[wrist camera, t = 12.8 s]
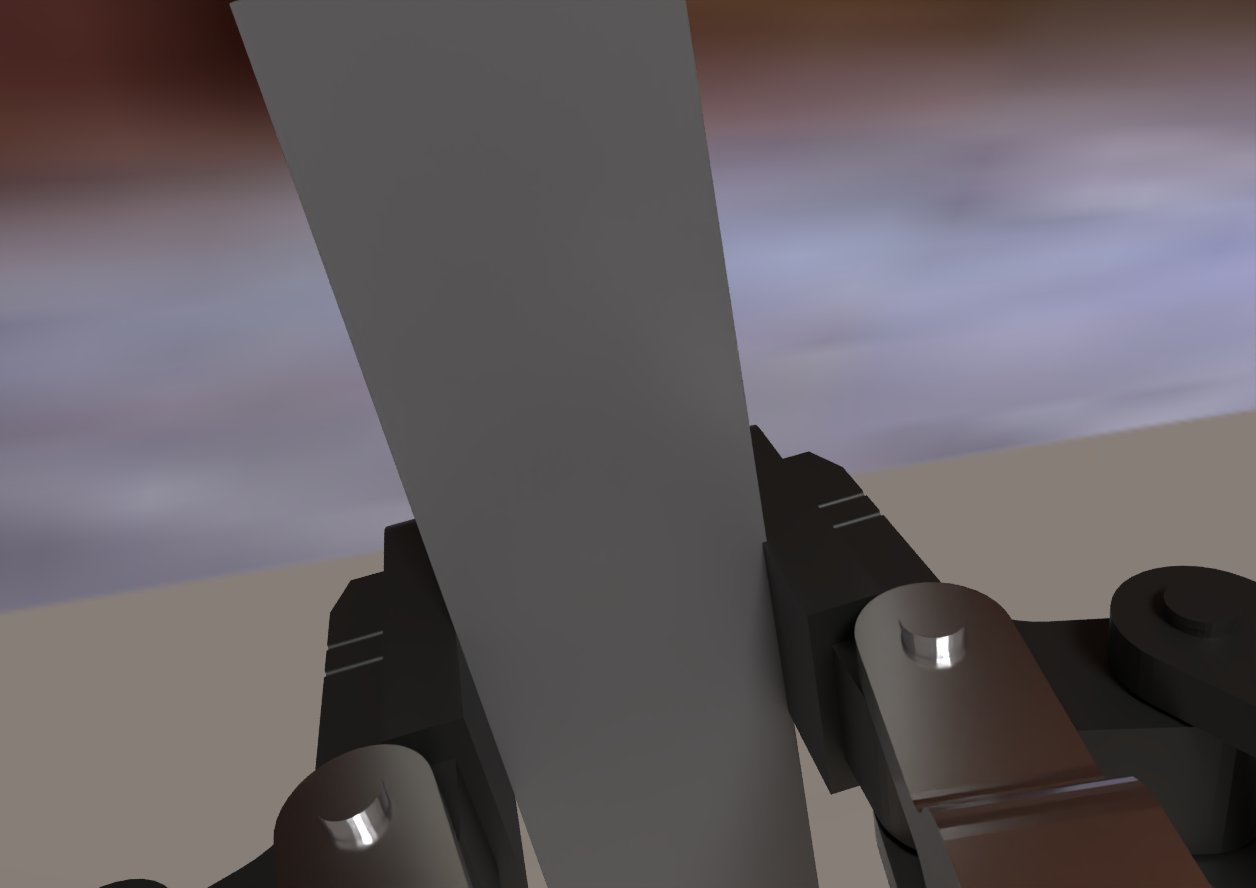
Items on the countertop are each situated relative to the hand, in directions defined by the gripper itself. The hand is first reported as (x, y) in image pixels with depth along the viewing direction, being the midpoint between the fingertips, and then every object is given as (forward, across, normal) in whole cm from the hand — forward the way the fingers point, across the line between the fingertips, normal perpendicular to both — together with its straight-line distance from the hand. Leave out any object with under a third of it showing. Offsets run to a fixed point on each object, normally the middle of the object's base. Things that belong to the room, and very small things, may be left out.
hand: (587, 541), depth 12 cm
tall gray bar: (+2, 0, 0) cm, 2 cm away
